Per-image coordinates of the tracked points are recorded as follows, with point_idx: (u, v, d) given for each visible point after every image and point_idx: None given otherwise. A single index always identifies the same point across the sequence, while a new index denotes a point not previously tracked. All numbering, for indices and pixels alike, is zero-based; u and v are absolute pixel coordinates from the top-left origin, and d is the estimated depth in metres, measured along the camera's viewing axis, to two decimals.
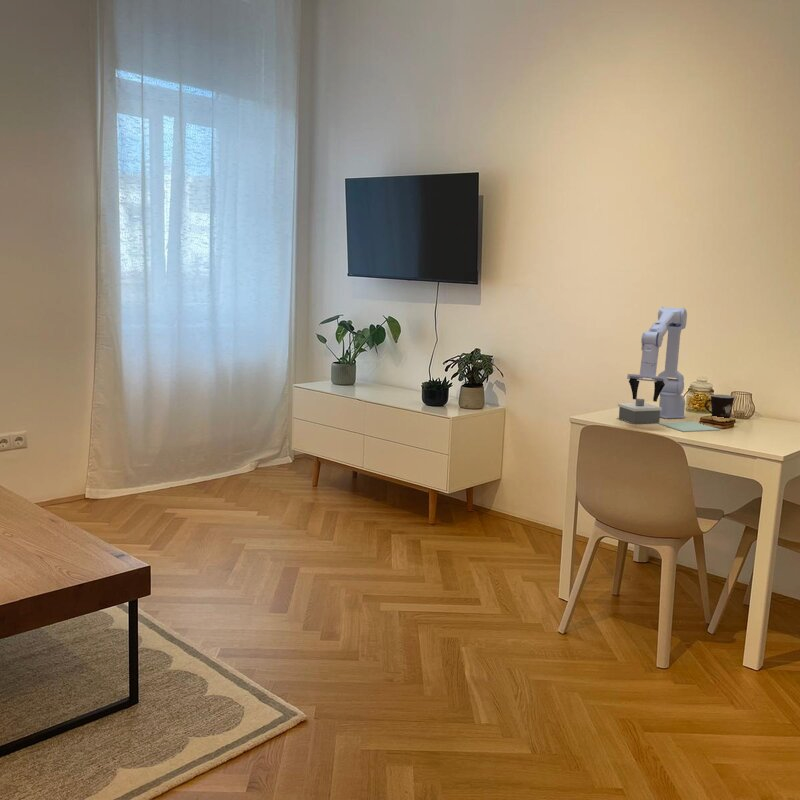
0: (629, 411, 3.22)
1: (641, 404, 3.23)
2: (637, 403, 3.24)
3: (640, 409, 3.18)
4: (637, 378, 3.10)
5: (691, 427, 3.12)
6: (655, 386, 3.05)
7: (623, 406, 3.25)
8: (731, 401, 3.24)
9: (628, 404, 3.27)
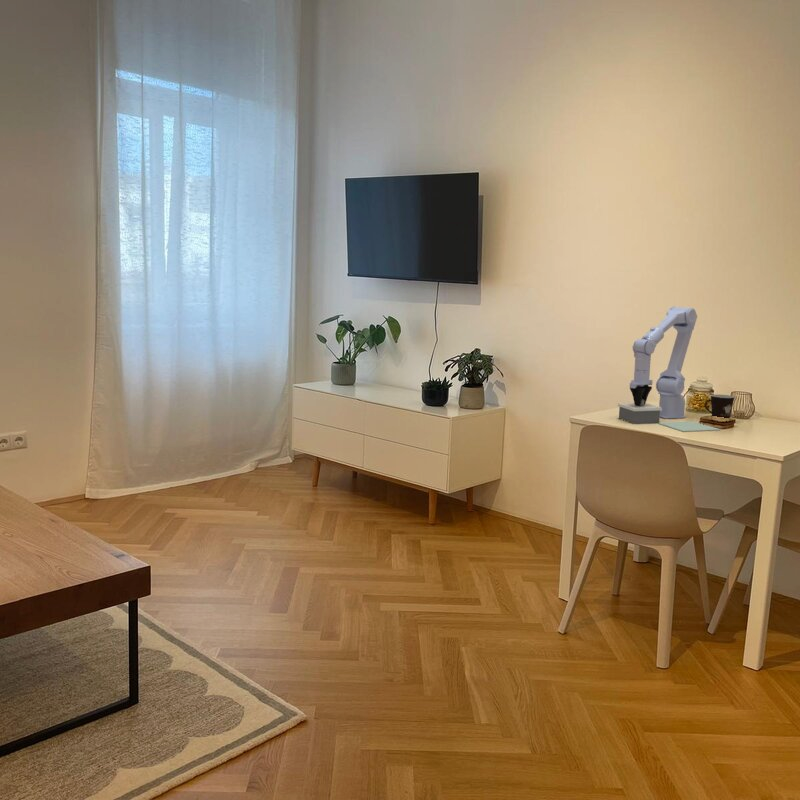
0: (629, 411, 3.22)
1: (641, 404, 3.23)
2: None
3: (640, 409, 3.18)
4: None
5: (691, 427, 3.12)
6: None
7: (623, 406, 3.25)
8: (731, 401, 3.24)
9: (628, 404, 3.27)
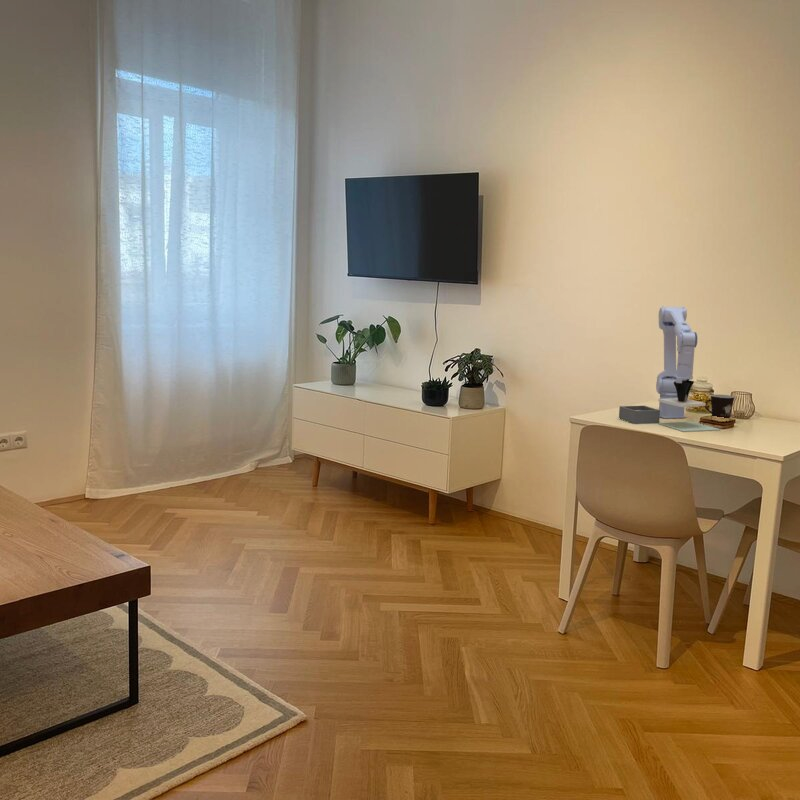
0: (629, 411, 3.22)
1: None
2: None
3: (686, 405, 3.09)
4: None
5: (691, 427, 3.12)
6: None
7: (666, 401, 3.14)
8: (731, 401, 3.24)
9: (669, 399, 3.17)
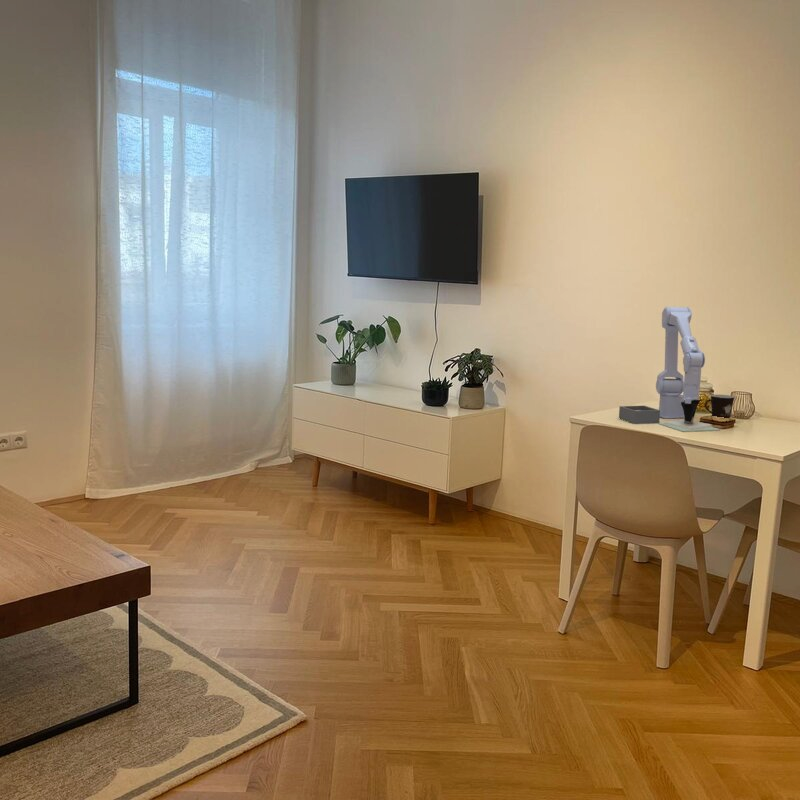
0: (629, 411, 3.22)
1: (691, 422, 3.13)
2: (687, 421, 3.13)
3: (695, 427, 3.08)
4: None
5: None
6: None
7: (673, 425, 3.13)
8: (731, 401, 3.24)
9: (675, 422, 3.16)
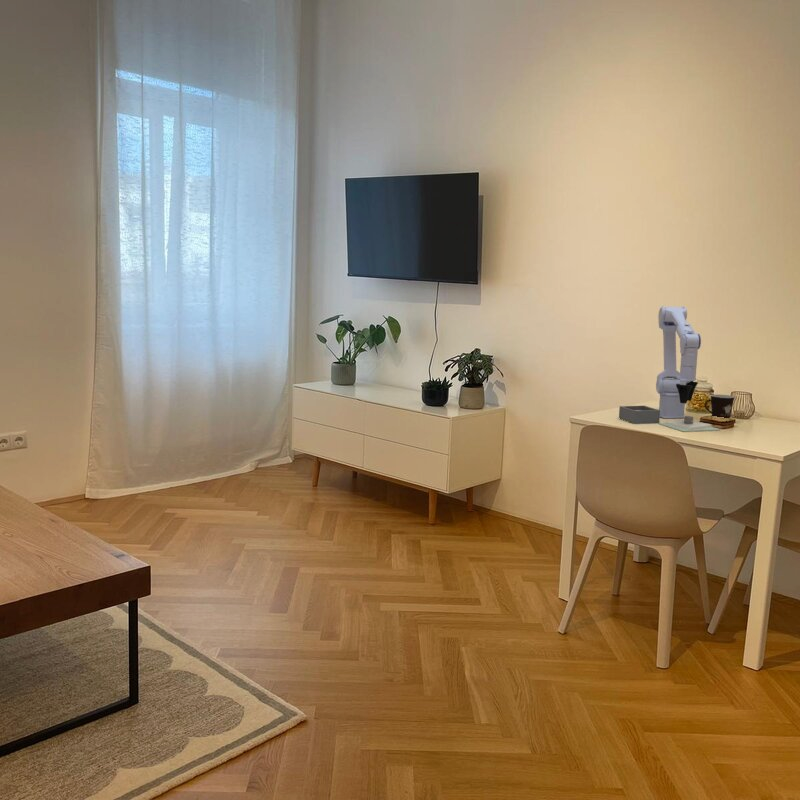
0: (629, 411, 3.22)
1: (691, 422, 3.13)
2: (687, 421, 3.13)
3: (695, 427, 3.08)
4: None
5: None
6: None
7: (673, 425, 3.13)
8: (731, 401, 3.24)
9: (675, 422, 3.16)
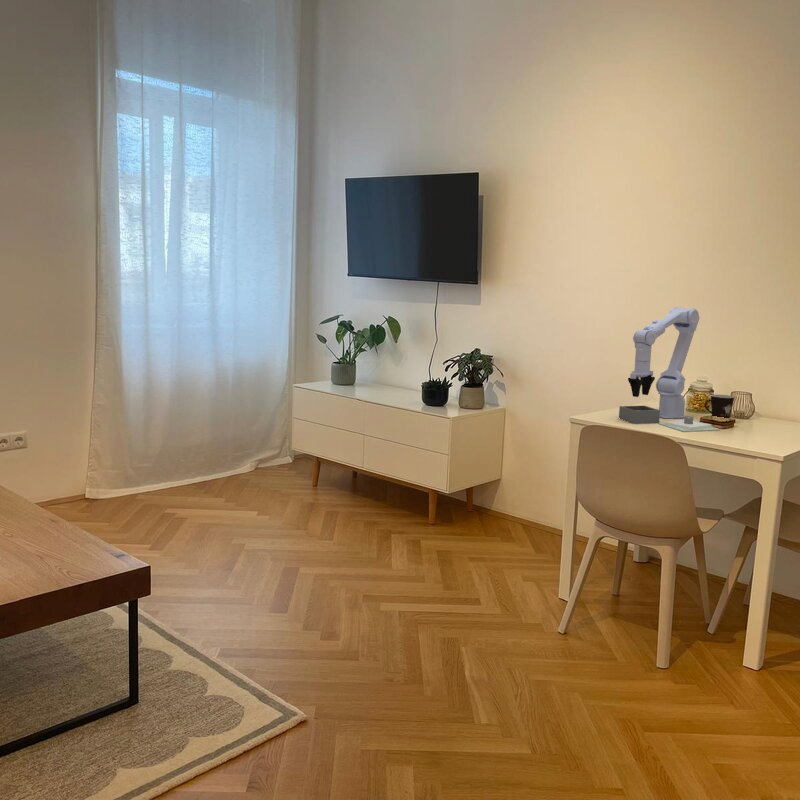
0: (629, 411, 3.22)
1: (691, 422, 3.13)
2: (687, 421, 3.13)
3: (695, 427, 3.08)
4: None
5: None
6: None
7: (673, 425, 3.13)
8: (731, 401, 3.24)
9: (675, 422, 3.16)
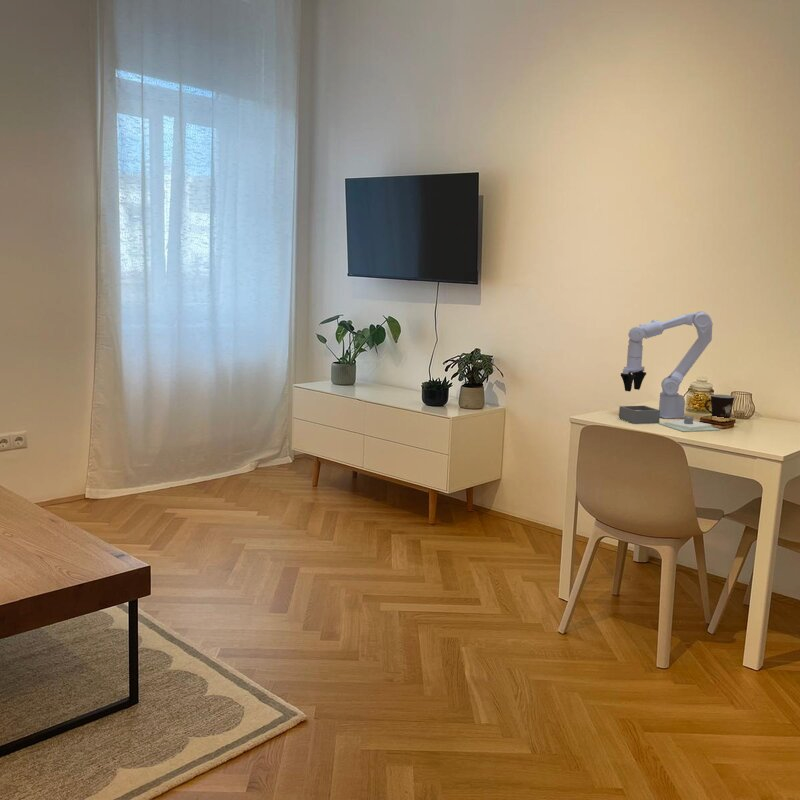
0: (629, 411, 3.22)
1: (691, 422, 3.13)
2: (687, 421, 3.13)
3: (695, 427, 3.08)
4: None
5: None
6: None
7: (673, 425, 3.13)
8: (731, 401, 3.24)
9: (675, 422, 3.16)
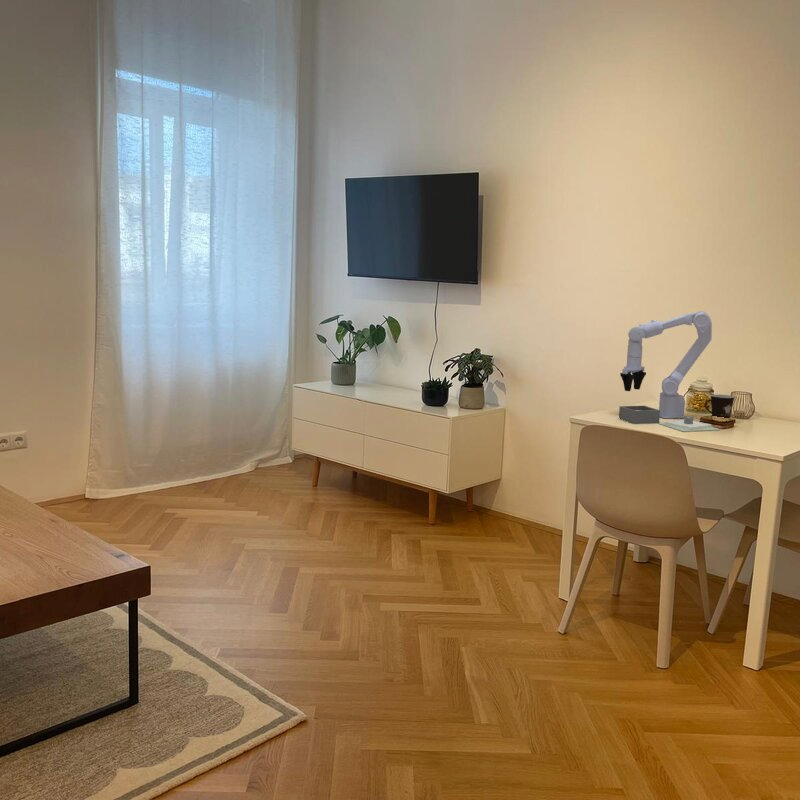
0: (629, 411, 3.22)
1: (691, 422, 3.13)
2: (687, 421, 3.13)
3: (695, 427, 3.08)
4: None
5: None
6: None
7: (673, 425, 3.13)
8: (731, 401, 3.24)
9: (675, 422, 3.16)
